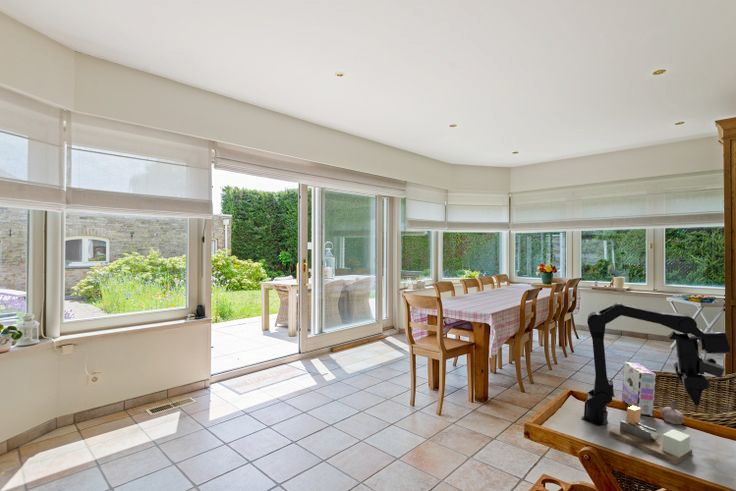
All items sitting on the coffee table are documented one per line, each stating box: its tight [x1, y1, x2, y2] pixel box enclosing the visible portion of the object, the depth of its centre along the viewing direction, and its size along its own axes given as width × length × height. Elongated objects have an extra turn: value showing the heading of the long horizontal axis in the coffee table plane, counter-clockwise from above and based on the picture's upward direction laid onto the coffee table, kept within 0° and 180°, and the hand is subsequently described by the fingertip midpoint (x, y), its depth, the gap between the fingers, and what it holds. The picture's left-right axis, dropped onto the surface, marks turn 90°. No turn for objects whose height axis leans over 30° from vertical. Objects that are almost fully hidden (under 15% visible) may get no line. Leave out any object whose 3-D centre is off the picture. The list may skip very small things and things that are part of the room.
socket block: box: [662, 428, 691, 457], centre depth 121 cm, size 4×7×5 cm, turn 121°
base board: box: [608, 425, 693, 465], centre depth 127 cm, size 19×12×2 cm, turn 31°
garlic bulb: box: [661, 399, 685, 425], centre depth 144 cm, size 8×7×8 cm
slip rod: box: [621, 405, 659, 440], centre depth 130 cm, size 10×4×8 cm, turn 31°
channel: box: [619, 420, 657, 442], centre depth 130 cm, size 9×4×3 cm, turn 31°
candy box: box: [621, 361, 657, 417], centre depth 154 cm, size 14×6×16 cm, turn 168°
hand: (693, 400), depth 128 cm, fingers open, 9 cm apart
